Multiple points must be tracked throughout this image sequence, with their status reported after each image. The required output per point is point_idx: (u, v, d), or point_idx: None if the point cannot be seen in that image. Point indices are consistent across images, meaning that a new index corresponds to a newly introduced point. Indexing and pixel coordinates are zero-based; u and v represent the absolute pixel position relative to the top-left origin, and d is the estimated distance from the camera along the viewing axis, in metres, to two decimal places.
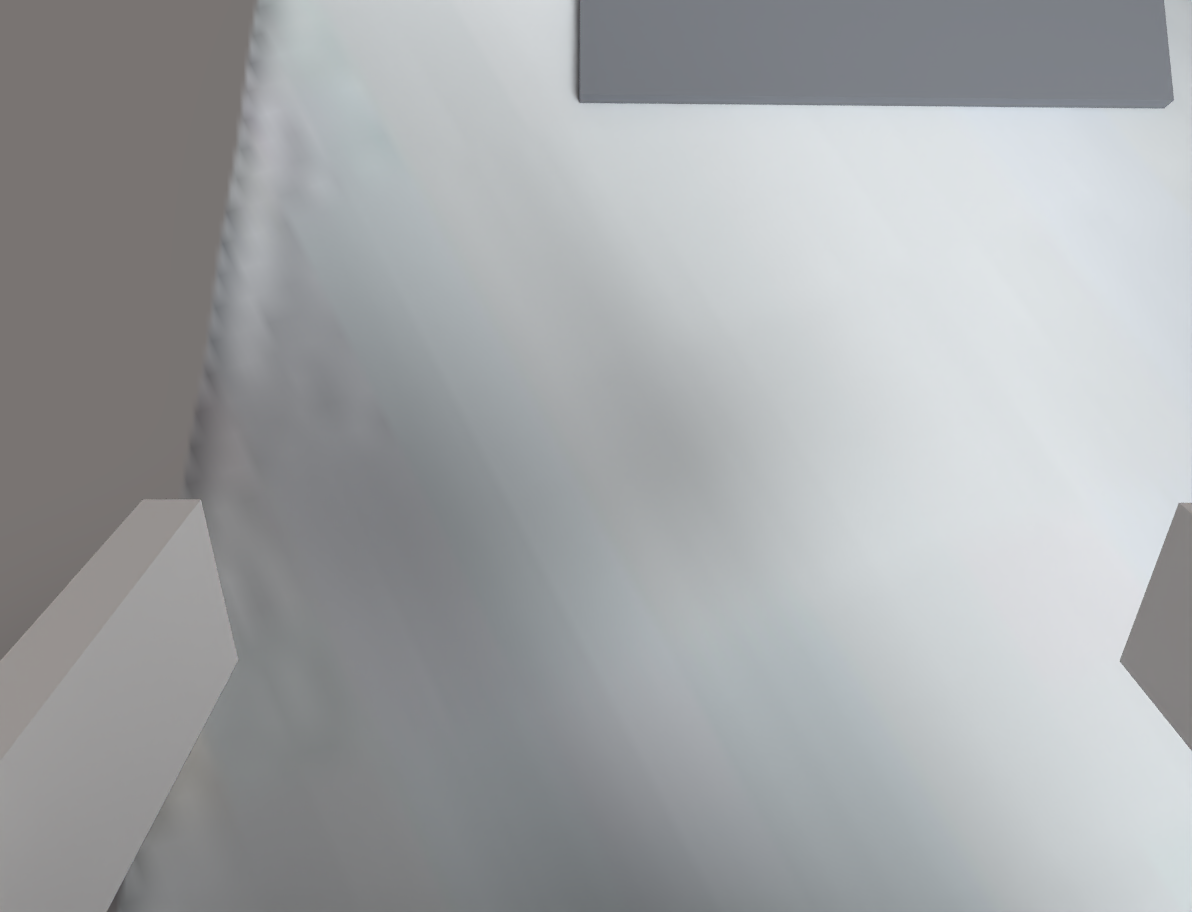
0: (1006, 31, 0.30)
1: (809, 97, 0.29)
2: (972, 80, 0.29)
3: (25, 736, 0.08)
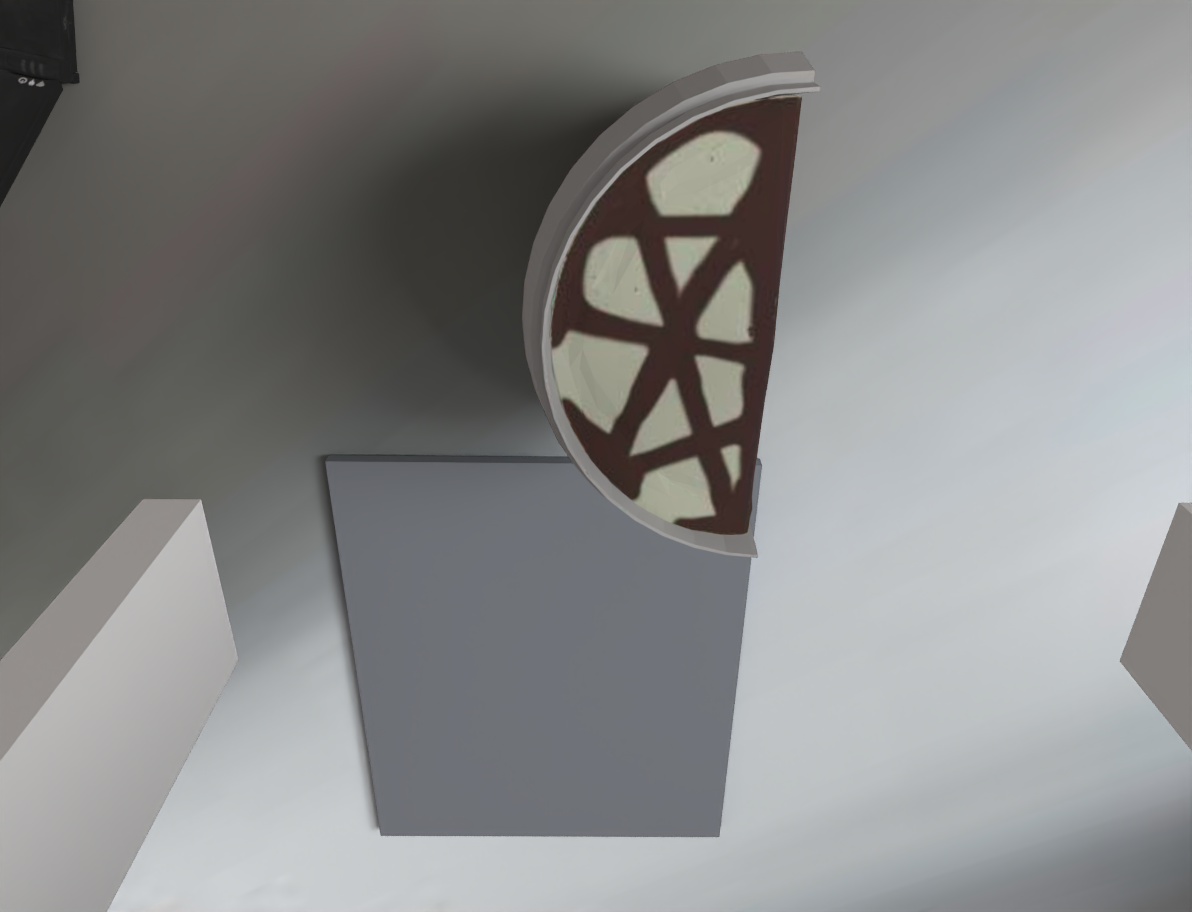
0: (686, 587, 0.35)
1: None
2: (729, 613, 0.35)
3: (25, 736, 0.08)
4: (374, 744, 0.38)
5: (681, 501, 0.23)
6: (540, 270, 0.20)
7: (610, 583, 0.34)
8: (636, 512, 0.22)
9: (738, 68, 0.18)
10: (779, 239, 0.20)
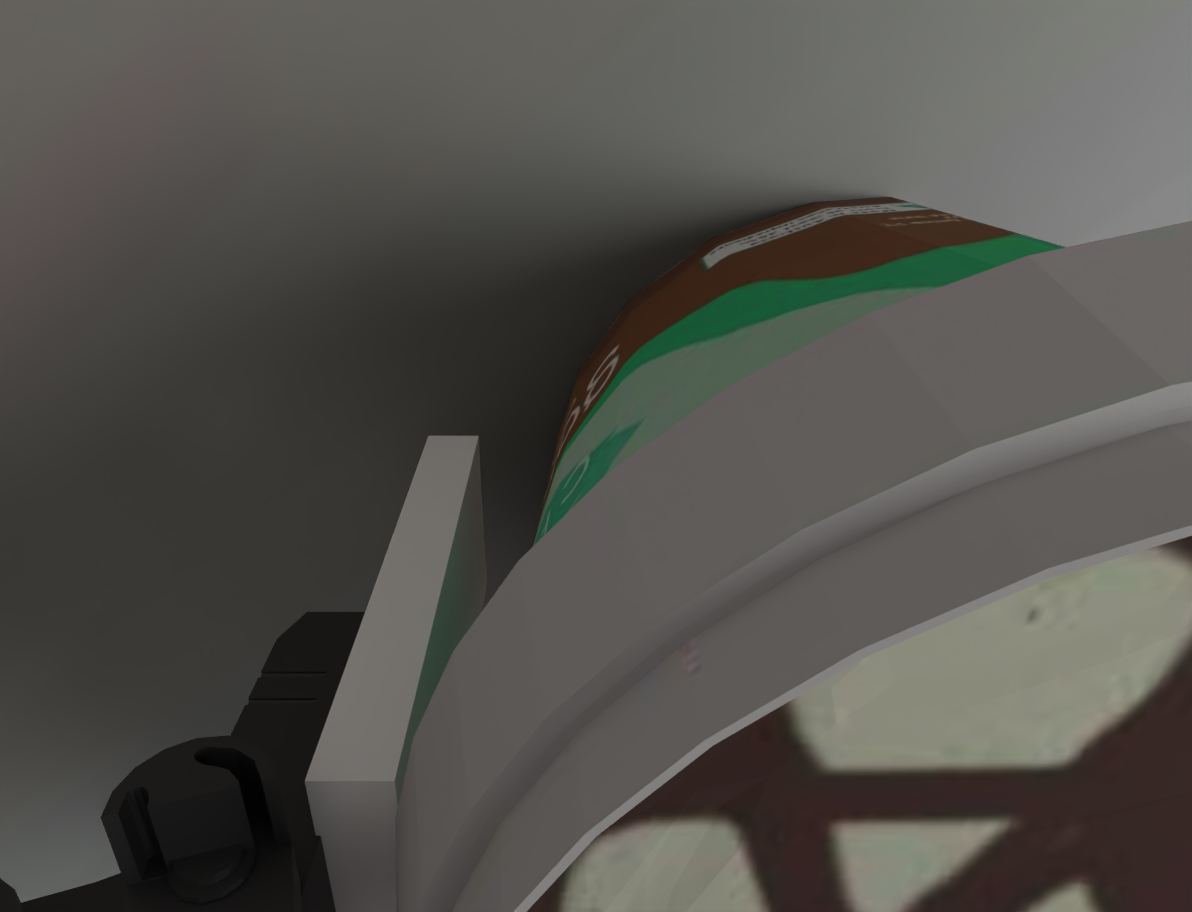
0: None
1: None
2: None
3: (437, 607, 0.10)
4: None
5: None
6: None
7: None
8: None
9: (1158, 293, 0.05)
10: None
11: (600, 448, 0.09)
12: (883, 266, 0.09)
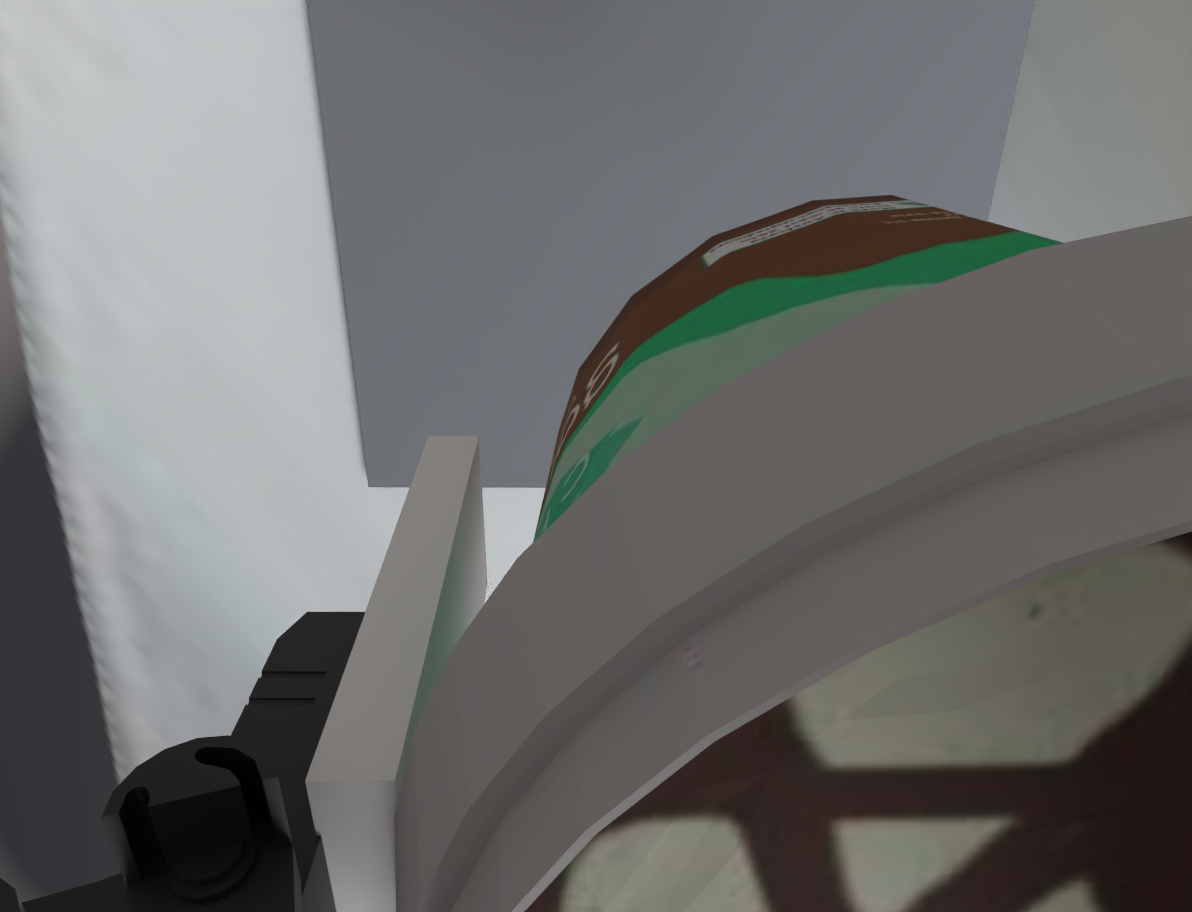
0: None
1: None
2: None
3: (437, 606, 0.10)
4: None
5: None
6: None
7: None
8: None
9: (1162, 287, 0.05)
10: None
11: (600, 445, 0.09)
12: (884, 262, 0.08)
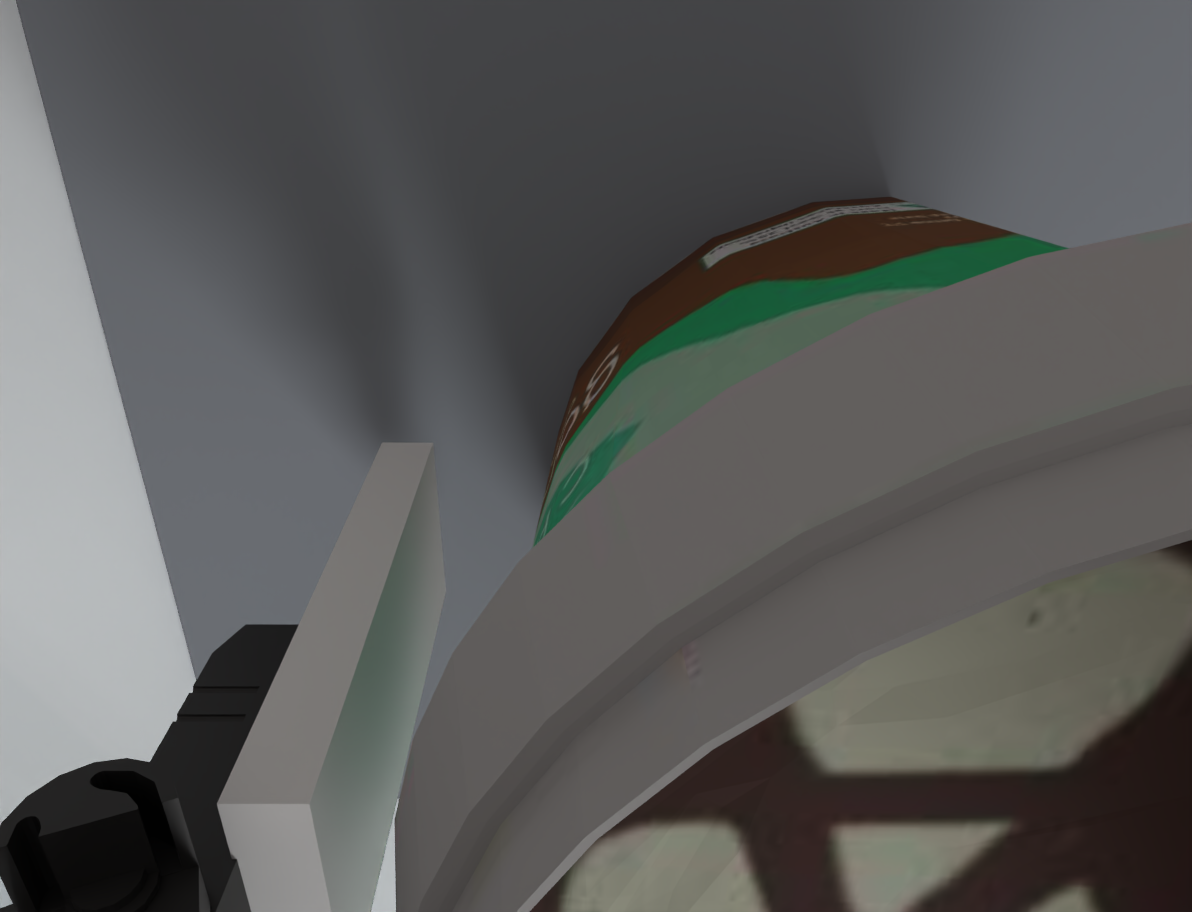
0: None
1: None
2: None
3: (373, 620, 0.09)
4: None
5: None
6: None
7: None
8: None
9: (1161, 295, 0.05)
10: None
11: (600, 448, 0.09)
12: (884, 267, 0.08)
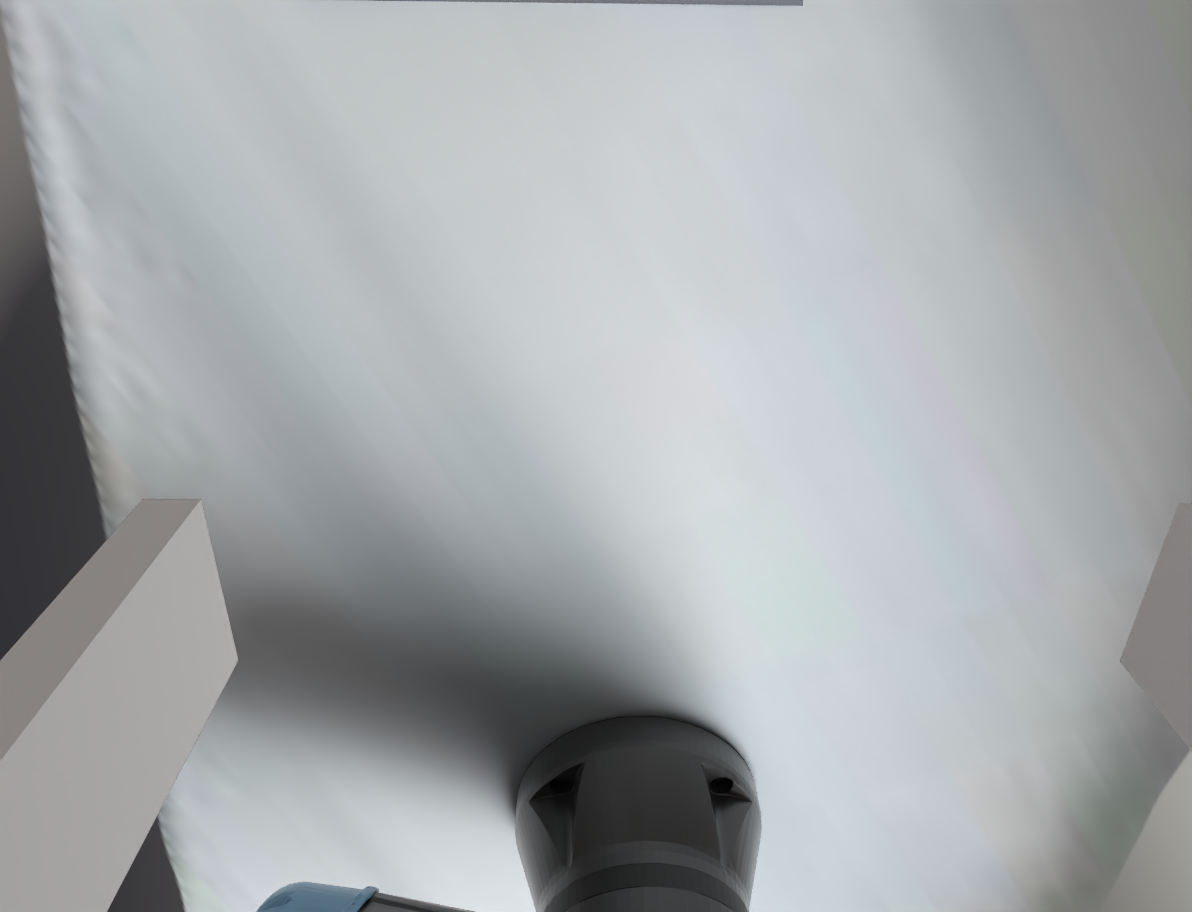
0: None
1: (487, 0, 0.34)
2: None
3: (25, 736, 0.08)
4: None
5: None
6: None
7: None
8: None
9: None
10: None
11: None
12: None
